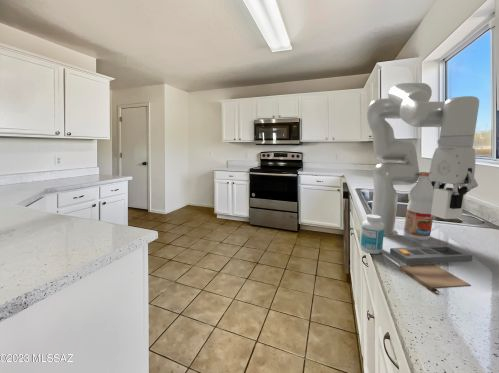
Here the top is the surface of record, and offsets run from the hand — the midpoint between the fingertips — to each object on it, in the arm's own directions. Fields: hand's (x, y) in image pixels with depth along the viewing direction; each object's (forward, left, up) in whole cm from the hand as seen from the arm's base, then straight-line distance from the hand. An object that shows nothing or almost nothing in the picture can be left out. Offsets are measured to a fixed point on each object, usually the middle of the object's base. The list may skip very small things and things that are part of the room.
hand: (447, 205), depth 72 cm
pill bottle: (-18, -10, -22) cm, 30 cm away
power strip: (-9, +6, -22) cm, 24 cm away
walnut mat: (+2, -3, -22) cm, 22 cm away
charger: (0, 0, -3) cm, 3 cm away
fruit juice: (-28, +17, -22) cm, 39 cm away
